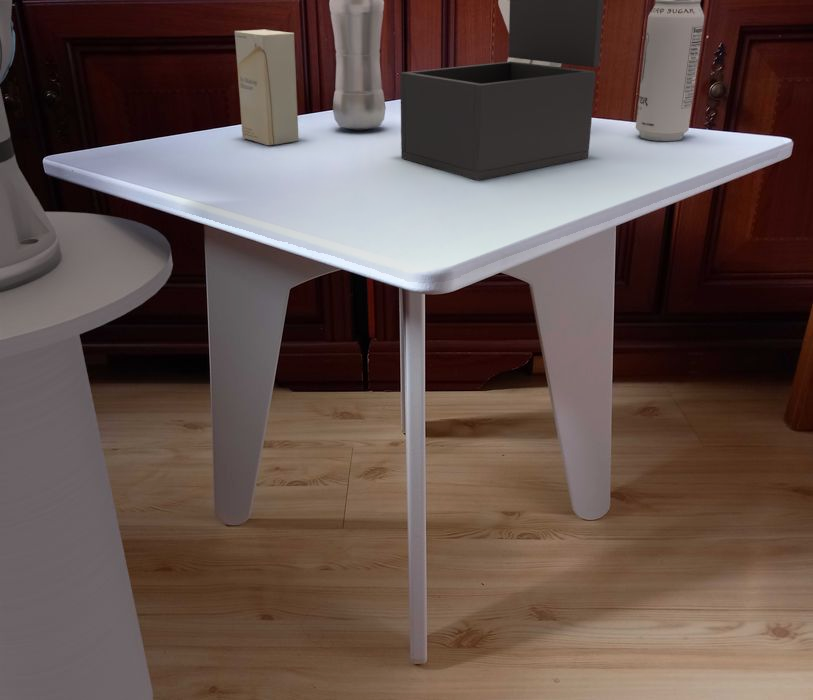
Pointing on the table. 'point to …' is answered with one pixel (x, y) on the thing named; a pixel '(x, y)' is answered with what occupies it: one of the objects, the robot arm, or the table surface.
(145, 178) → the table surface
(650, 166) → the table surface
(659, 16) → the energy drink can
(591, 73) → the open lidded box
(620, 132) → the table surface
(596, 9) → the box lid
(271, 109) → the cosmetic box
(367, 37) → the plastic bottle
